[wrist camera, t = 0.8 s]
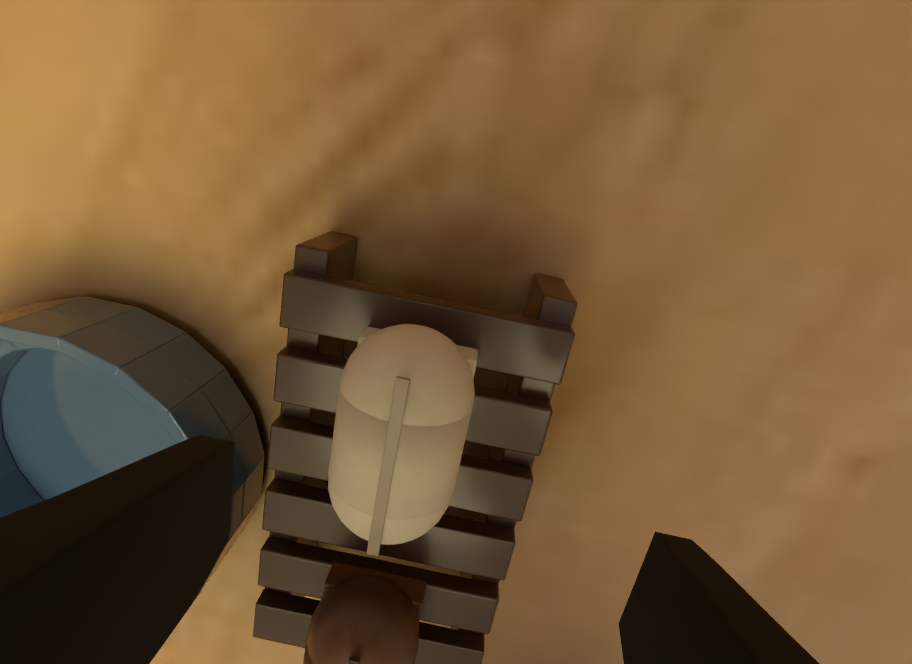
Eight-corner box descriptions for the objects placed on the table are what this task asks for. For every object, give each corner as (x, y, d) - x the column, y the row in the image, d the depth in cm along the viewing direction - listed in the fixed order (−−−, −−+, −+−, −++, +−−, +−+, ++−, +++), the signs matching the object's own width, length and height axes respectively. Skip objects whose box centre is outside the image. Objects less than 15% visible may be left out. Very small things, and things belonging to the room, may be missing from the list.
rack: (475, 609, 22) (471, 698, 18) (291, 570, 22) (251, 651, 18) (563, 279, 17) (582, 309, 14) (329, 230, 17) (285, 248, 14)
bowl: (259, 581, 22) (211, 665, 19) (-4, 525, 23) (-104, 598, 19) (280, 330, 19) (226, 372, 15) (-35, 265, 19) (-170, 289, 15)
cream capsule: (448, 501, 16) (435, 588, 13) (341, 479, 16) (302, 560, 13) (488, 322, 14) (486, 369, 11) (367, 297, 14) (328, 336, 11)
